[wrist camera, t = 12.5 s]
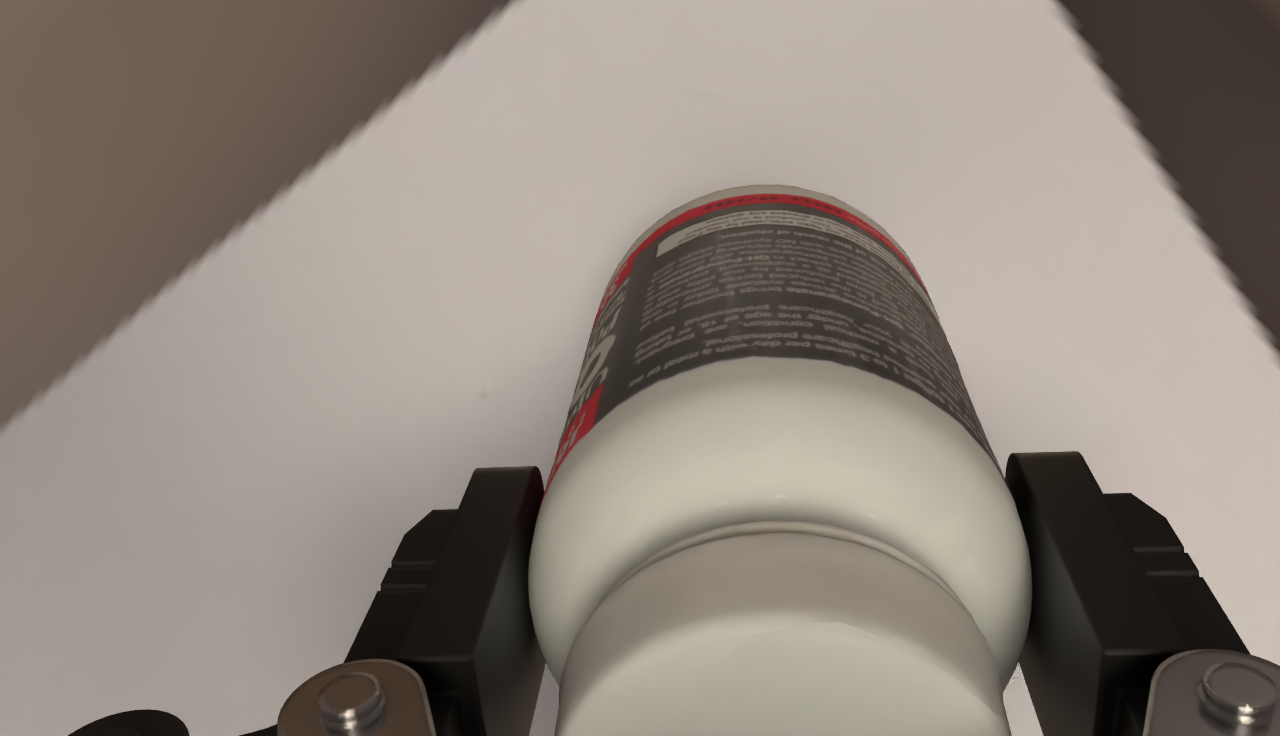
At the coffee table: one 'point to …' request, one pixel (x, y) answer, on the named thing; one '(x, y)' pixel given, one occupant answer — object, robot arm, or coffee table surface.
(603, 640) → the pill bottle
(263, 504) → the coffee table surface
